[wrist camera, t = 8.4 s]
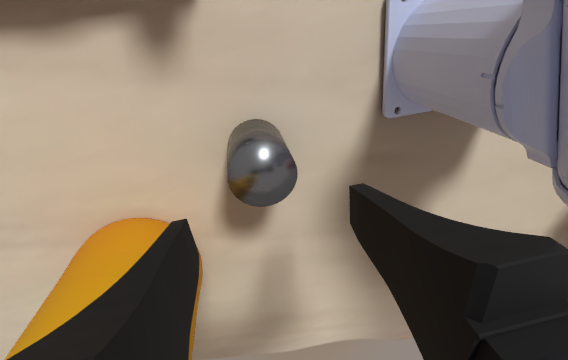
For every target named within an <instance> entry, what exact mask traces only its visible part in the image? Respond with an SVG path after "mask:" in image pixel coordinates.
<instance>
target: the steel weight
mask: <svg viewBox="0 0 568 360" xmlns="http://www.w3.org/2000/svg"><path fill="white" fill-rule="evenodd" d="M296 180H297V167H296V164H295V161H294V159H293V157H292V155H291V153H290V151H289V149H288V148H287V146H286V144H285V142H284V140H283V138H282V136H281V134H280V132H279V130H278V129H277V128H276V127H275V126H274V125H273V124H271V123H269V122H267V121H264V120H259V119H253V120H248V121H245V122H243V123H241V124H240V125H238V126H237V127H236V128H235V129H234V130H233V132H232V133H231V135H230V138H229V141H228V183H229V186H230V189H231V191H232V192H233V194H234V195H235V196H236V197H237V198H238V199H239V200H241V201H242V202H244V203H246V204H249V205H252V206H259V207H262V206H270V205H273V204H276V203H278V202H280V201H282V200H283V199H285V198H286V197H287V196H288V195H289V194H290V193H291V191H292V190H293V188H294V186H295V184H296Z"/></svg>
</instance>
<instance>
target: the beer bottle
mask: <svg viewBox="0 0 568 360" xmlns="http://www.w3.org/2000/svg"><path fill="white" fill-rule="evenodd" d="M168 225H169V223H166V222H162V221H159V220H154V219H148V218H132V219H125V220H121V221H117V222H114V223H111V224H109V225H107V226H105V227H103V228H101V229H100V230H98V231H97V232H96V233H94V234H93V235H92V236H91V237H89V239H88V240H87V241H86V242H85V243H84V244H83V245H82V246H81V248H80V249H79V250H78V251H77V253H76V254H75V256H74V257H73V259H72V260H71V262H70V264H69V265H68V267H67V268H66V270H65V272H64V273H63V275H62V276H61V278H60V279H59V281H58V282H57V284H56V285H55V287H54V288H53V290H52V291H51V293H50V294H49V296H48V297H47V298H46V300H45V301H44V303H43V304H42V306H41V307H40V309H39V310H38V312H37V313H36V315H35V316H34V317H33V319H32V320H31V322H30V323H29V325H28V326H27V328H26V329H25V331H24V332H23V333H22V335H21V336H20V338H19V339H18V341H17V342H16V344H15V345H14V347H13V348H12V349H11V351H10V352H9V354H8V355H7V357H6V358H5V360H7V359H9V358H10V357H12V356H14V355H15V354H17V353H18V352H20V351H22V350H23V349H25V348H27V347H28V346H30V345H32V344H33V343H35V342H37V341H38V340H40V339H41V338H43V337H44V336H46V335H47V334H49V333H50V332H52V331H53V330H55V329H56V328H58V327H59V326H61V325H62V324H64V323H65V322H66V321H68V320H69V319H71V318H72V317H74V316H75V315H76V314H78V313H79V312H80V311H82V310H83V309H84V308H85V307H87V306H88V305H89V304H90V303H92V302H93V301H94V300H96V299H97V298H98V297H99V296H101V295H102V294H103V293H104V292H105V291H107V290H108V289H109V288H110V287H111V286H112V285H113V284H114V283H116V282H117V281H118V280H119V279H120V278H121V277H122V276H123V275H124V274H125V273H126V272H127V271H128V270H129V269H130V268H131V267H132V266H133V265H134V264H135V263H136V262H137V261H138V260H139V259H140V258H141V257H142V255H143V254H144V253H145V252H146V251H147V250H148V249H149V248H150V246H151V245H152V244H153V243H154V242H155V241H156V240H157V238H158V237H159V236H160V235H161V234H162V232H163V231H164V230H165V229H166V228H167V227H168ZM197 249H198V248H197ZM198 252H199V250H198ZM201 280H202V262H201V256H200V253H199V280H198V287H197V293H196V299H195V305H194V311H193V317H192V324H191V331H190V342H189V360H191V358H192V350H193V341H194V333H195V324H196V315H197V307H198V299H199V293H200V287H201Z"/></svg>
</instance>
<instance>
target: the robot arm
mask: <svg viewBox="0 0 568 360" xmlns="http://www.w3.org/2000/svg"><path fill="white" fill-rule="evenodd" d="M397 107H398V111H397V112H396V113H394V110H395V108H397ZM434 110H435V111H437V112H440V113H442V114H445V115H448V116H450V117H453V118H456V119H458V120H461V121H464V122H466V123H469V124H472V125H474V126H477V127H479V128H482V129H485V130H487V131H490V132H493V133H495V134H498V135H501V136H503V137H506V138H508V139H511V140H514V141H516V142H519V143H520V144H522V145H523V146H524V148H525V149H526V152H527V157H528V158H529V159H531V160H533V161H536V162H538V163H541V164H543V165H545V166H548V167H550V168H553V171H552V179H553V186H554V189H555V191H556V193H557V195H558V196H559V197H560V199H561V200H562V201H563V202H564V203H565V204H566V205H567V206H568V0H404V1H403V2H402V1H401V0H386V26H385V53H384V80H383V107H382V113H383V115H384V116H385V117H386V118H395V117H401V116H406V115H412V114H417V113H423V112H428V111H434ZM349 190H350V224H351V226H352V228H353V230H354V233H355V235H356V237H357V239H358V241H359V242H360V244H361V246H362V247H363V249H364V250H365V252H366V253H367V255H368V256H369V258H370V259H371V261H372V262H373V264H374V265H375V267H376V268H377V270H378V272H379V273H380V275H381V276H382V278H383V279H384V281H385V282H386V284H387V286H388V287H389V289H390V291H391V293H392V295H393V297H394V299H395V301H396V302H397V304H398V306H399V308H400V310H401V312H402V314H403V316H404V318H405V320H406V322H407V325H408V327H409V329H410V331H411V333H412V335H413V337H414V339H415V341H416V343H417V346H418V348H419V350H420V352H421V354H422V356H423V359H424V360H568V249H567V248H565V247H564V246H562V245H561V244H559V243H558V242H556V241H555V240H553V239H552V238H550V237H545V236H536V235H528V234H520V233H512V232H505V231H500V230H494V229H488V228H483V227H478V226H474V225H470V224H466V223H462V222H458V221H454V220H450V219H447V218H444V217H441V216H438V215H434V214H431V213H429V212H426V211H423V210H421V209H418V208H416V207H413V206H411V205H408V204H406V203H404V202H401V201H399V200H397V199H395V198H393V197H391V196H388V195H386V194H384V193H382V192H380V191H378V190H376V189H374V188H372V187H370V186H368V185H365V184H363V183H362V184H357V185H352V186H349ZM198 280H199V252H198V249H197V247H196V244H195V241H194V238H193V235H192V233H191V230H190V227H189V224H188V221H187V219H183V220H178V221H173V222H171V223H170V224H169V225H168V227H167V228H166V229H165V230H164V231H163V232H162V234H161V235H160V236H159V237H158V238H157V240H156V241H155V242H154V243H153V244H152V245H151V246H150V248H149V249H148V250H147V251H146V252H145V253H144V254H143V255H142V257H141V258H140V259H139V260H138V261H137V262H136V263H135V264H134V265H133V266H132V267H131V268H130V269H129V270H128V271H127V272H126V273H125V274H124V275H123V276H122V277H121V278H120V279H119V280H118V281H117V282H116V283H114V284H113V285H112V286H111V287H110V288H109V289H108V290H107V291H105V292H104V293H103V294H102V295H101V296H99V297H98V298H97V299H96V300H94V301H93V302H92V303H90V304H89V305H88V306H87V307H85V308H84V309H83V310H82V311H80V312H79V313H78V314H76V315H75V316H74V317H72V318H71V319H69V320H68V321H66V322H65V323H64V324H62V325H61V326H59V327H58V328H56V329H55V330H53V331H52V332H50V333H49V334H47V335H46V336H44V337H43V338H41V339H40V340H38V341H37V342H35V343H33V344H32V345H30V346H28V347H27V348H25V349H23V350H22V351H20V352H18V353H17V354H15V355H14V356H12V357H10V358H9V359H7V360H189V342H190V331H191V324H192V317H193V311H194V305H195V299H196V293H197V287H198Z"/></svg>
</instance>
